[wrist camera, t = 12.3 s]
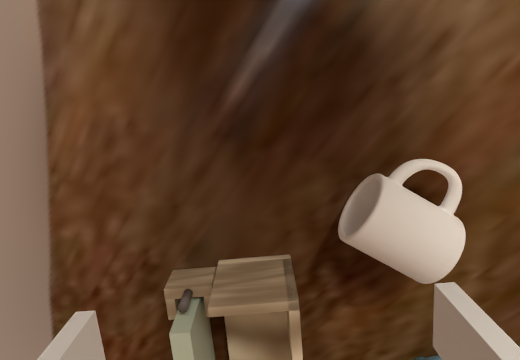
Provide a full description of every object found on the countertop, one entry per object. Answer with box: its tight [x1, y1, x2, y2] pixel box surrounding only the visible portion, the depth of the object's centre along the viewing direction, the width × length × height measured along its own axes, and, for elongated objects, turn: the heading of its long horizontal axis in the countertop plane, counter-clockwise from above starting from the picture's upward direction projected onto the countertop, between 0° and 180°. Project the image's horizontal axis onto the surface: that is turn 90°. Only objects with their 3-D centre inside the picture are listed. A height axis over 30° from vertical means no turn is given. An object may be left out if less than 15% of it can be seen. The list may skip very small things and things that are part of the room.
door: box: [169, 297, 215, 360], centre depth 43 cm, size 14×3×10 cm, turn 5°
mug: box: [338, 159, 466, 284], centre depth 40 cm, size 12×10×8 cm
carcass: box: [164, 255, 303, 360], centre depth 43 cm, size 19×14×10 cm
